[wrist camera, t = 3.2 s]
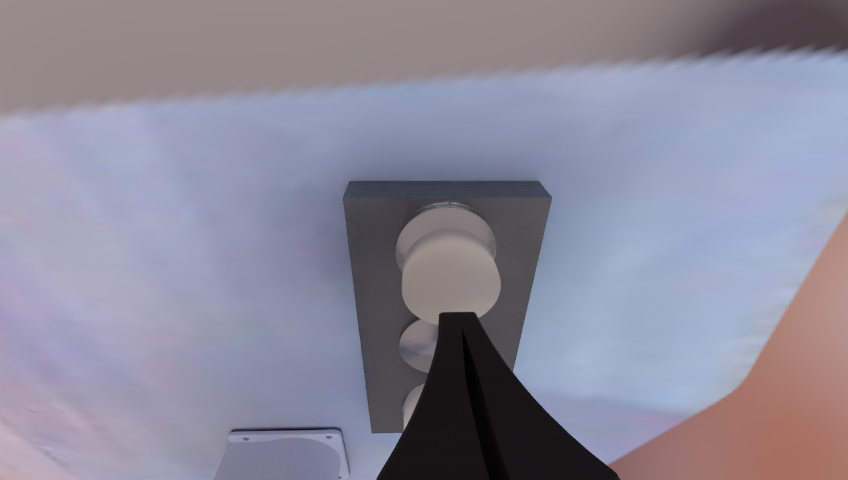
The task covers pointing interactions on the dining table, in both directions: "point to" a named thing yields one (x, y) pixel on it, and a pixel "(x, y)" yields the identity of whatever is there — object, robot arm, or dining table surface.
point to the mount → (383, 266)
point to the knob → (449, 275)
